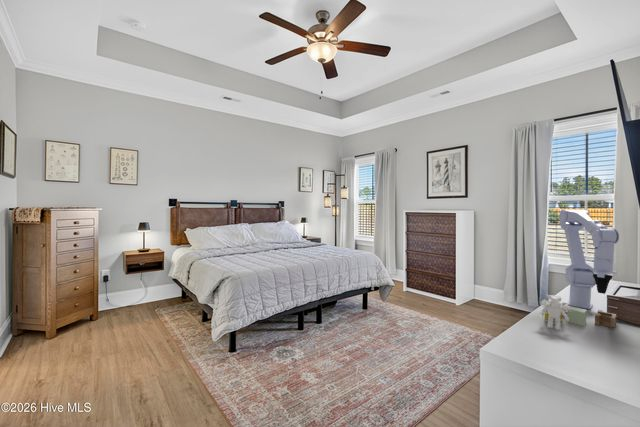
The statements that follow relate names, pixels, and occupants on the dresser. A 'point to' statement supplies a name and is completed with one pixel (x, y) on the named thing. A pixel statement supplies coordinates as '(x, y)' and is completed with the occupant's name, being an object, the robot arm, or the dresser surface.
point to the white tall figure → (548, 314)
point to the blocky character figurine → (554, 311)
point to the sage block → (577, 316)
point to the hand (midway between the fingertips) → (601, 292)
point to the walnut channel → (604, 318)
